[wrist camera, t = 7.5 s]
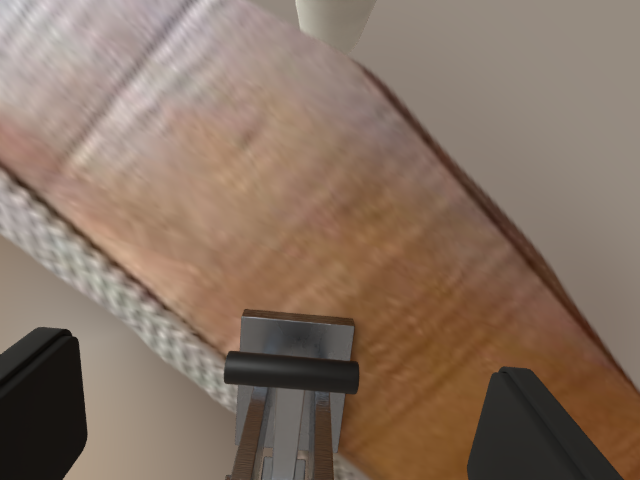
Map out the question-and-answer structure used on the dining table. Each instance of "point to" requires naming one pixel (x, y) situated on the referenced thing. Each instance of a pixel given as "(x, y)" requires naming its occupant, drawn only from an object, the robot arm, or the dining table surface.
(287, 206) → the dining table surface
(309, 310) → the dining table surface
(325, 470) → the press bracket
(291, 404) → the press lever
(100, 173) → the dining table surface
